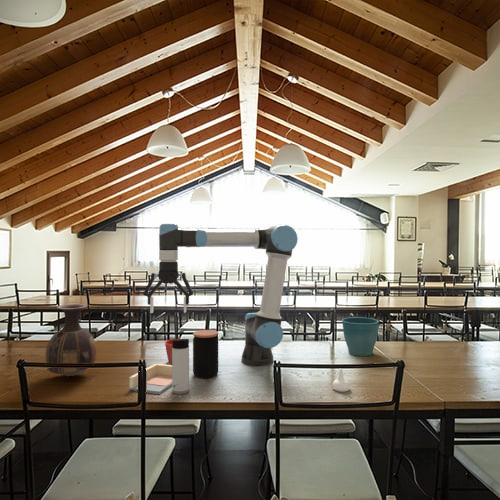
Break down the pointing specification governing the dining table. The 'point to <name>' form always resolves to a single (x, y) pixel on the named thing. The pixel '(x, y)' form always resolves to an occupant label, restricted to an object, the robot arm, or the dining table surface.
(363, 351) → the flower pot
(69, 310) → the vase
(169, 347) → the flower pot
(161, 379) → the tray
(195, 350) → the coffee jar
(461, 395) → the dining table surface
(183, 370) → the travel mug
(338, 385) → the garlic bulb
